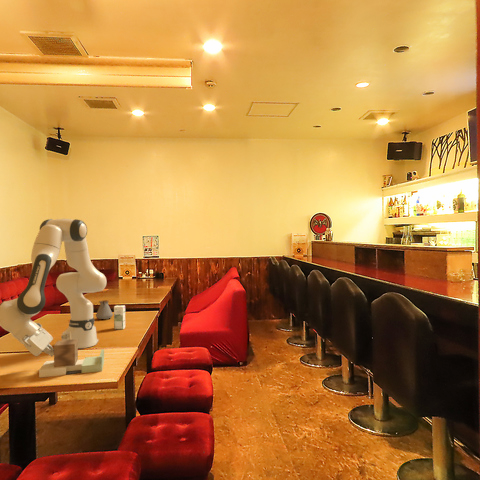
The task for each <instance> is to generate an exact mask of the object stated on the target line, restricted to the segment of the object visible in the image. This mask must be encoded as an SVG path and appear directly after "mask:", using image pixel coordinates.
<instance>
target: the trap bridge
mask: <svg viewBox="0 0 480 480" xmlns="http://www.w3.org/2000/svg"><path fill="white" fill-rule="evenodd" d="M104 365H105V349H100V353H99V356H88V357H84V358H83V359H82V358H81V359H78V360H77V362H76V364H75V365H73V366H62V367H54V359H53V360H46V361H45V362H44V363H43V364H42V366H41V367H40V368H39V370H38V378H48V377H58V376H68V375H76V374H77V373H79V374H87V373H98V372H102V371H103V369H104Z"/></svg>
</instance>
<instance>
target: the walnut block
mask: <svg viewBox="0 0 480 480" xmlns="http://www.w3.org/2000/svg"><path fill="white" fill-rule="evenodd" d="M53 349H54V355H53V360H54V367H62V366H73V365H75V364H76V362H77V360H79V348H78V339H74V340H62V339H61V340H57V341H56V342H55V344H54V345H53Z"/></svg>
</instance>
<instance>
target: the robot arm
mask: <svg viewBox="0 0 480 480" xmlns="http://www.w3.org/2000/svg"><path fill="white" fill-rule="evenodd" d="M87 235H88V227H87V225H86V223H85V222H84V221H83V220H82V219H77V218H76V219H72V218H57V219H56V218H55V219H53V218H50V219H49V218H48V219H45V220H43V221H42V223H40V226H39V231H38V233H37V236H36V237H35V240H34V242H33V246H32V249H31V257H30V261H31V265H32V268H31V273H30V275H29V279H28V282H27V285H26V287H25V289H24V290H23V291H21V293H20V294H19V295H18V297H17V298H14V299H10V300H5V301H2V302H1V303H0V327H1V328H2V329H4V331H7V332H8V333H10V334H11V335H12V337H13V338H14V339H16V340H17V341H18V342H19V343H20V344H22V345H23V346H24V348H25V349H26V350H27V351H29V353H31V354H32V355H33V356H35V357H38V356H40V355H41V354H42V353H45V354H47V355H49V356H50V357H54V347H53V346H52V345H51V344H50V343H52V341H53V340H54V337H53V336H52V334H50V333H49V332H48V331H47V330H46V329H45V328H43V325H42V324H41V323H40V322H34V321H33V320H32V319H31V318H32V317H34V316H36V315H38V314H39V313H40V312H42V310H43V308H45V305H46V296H45V287H46V283H47V279H48V275H49V272H50V270H51V268H52V267H53V266H54V265H55V264H56V262H57V260H58V257H59V255H60V252H61V248H62V243H63V244H64V245H63V246H64V253H65V258H66V259H65V260H66V263H67V265H68V266H69V267H70V268H72V269H74V270H76V272H72V271H71V272H63V273H61V274H59V275H58V277H57V279H56V282H55V284H56V286H55V287H56V289H57V290H58V291H59V292H60V293H62V294H63V295H64V296H65V298H66V299H67V301H68V303H69V308H70V309H69V310H70V319H69V320H67V321H68V326H67V328H66V329H65V330H64V331H63V332H62V333H61V336H60V338H61V340H74V339H78V349H86V348H90V347H93V346H96V345H97V344H98V342H100V341H99V340H100V339H99V338H98V337H97V336H98V335H97V327H96V326H95V318H94V304H93V302H91V300H89V299H88V298H86V297H85V296H84V294H85V293H87V294H89V293H93V294H94V293H97V292H98V293H99V292H103V291H104V290H105V288H106V287H107V284H108V283H107V277H106V276H105V274H104V273H102V272H100V270H98V269H97V268H96V267H95V266H94V264H93V263H92V261H91V257H90V256H91V255H90V252H89V245H88V240H87Z"/></svg>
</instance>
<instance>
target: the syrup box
mask: <svg viewBox="0 0 480 480" xmlns="http://www.w3.org/2000/svg"><path fill="white" fill-rule="evenodd" d="M113 325H114V326H113V330H124V329H125V328H126V304H125V305H118V304H117V305H114V306H113Z"/></svg>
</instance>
